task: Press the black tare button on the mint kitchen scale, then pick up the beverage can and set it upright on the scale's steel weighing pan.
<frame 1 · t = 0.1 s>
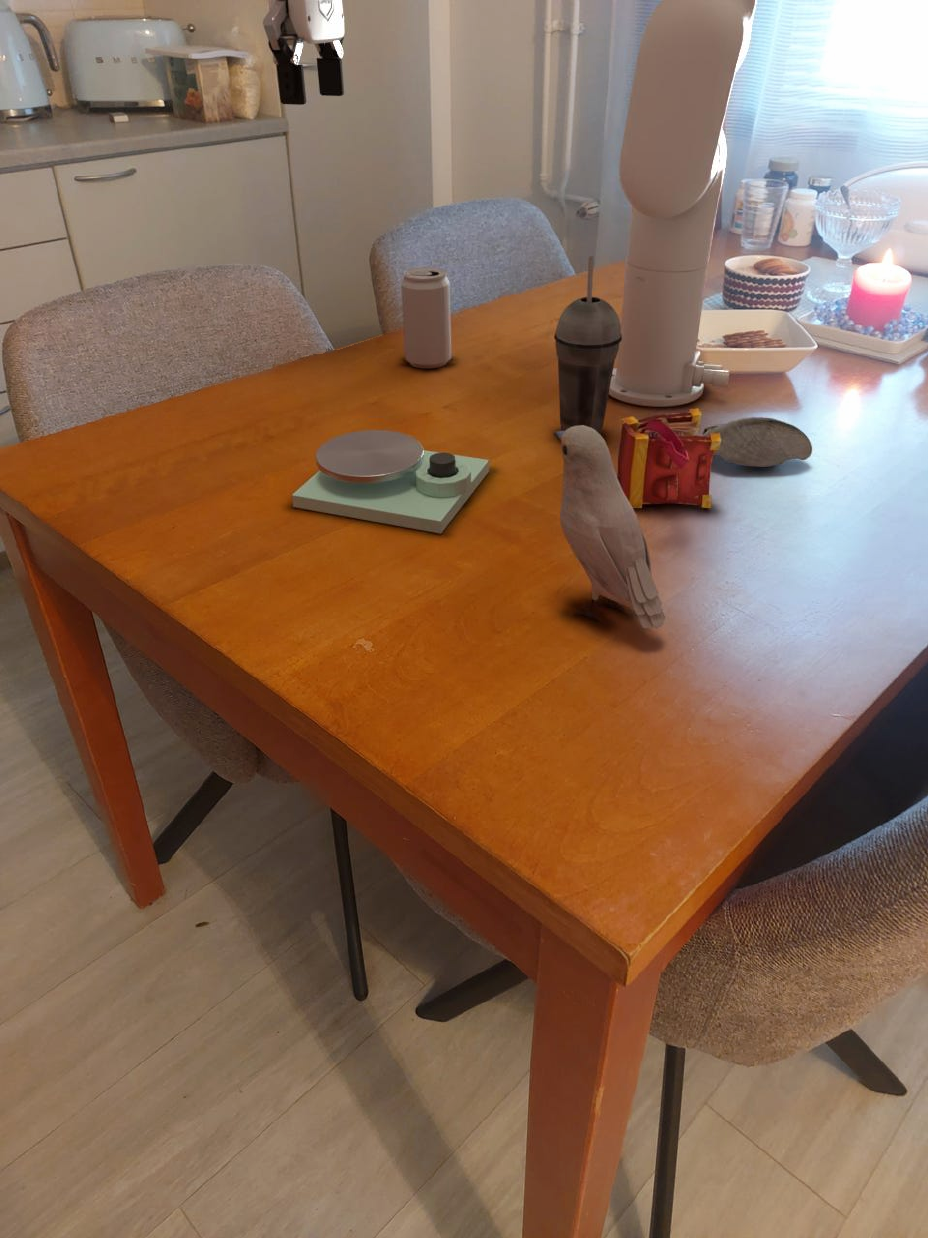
hand: (313, 99, 109), 31 cm above the table, tool pointing down, fingers open, 9 cm apart
beverage cup: (580, 437, 103), on the table
bird: (598, 609, 75), on the table
tare button: (442, 465, 89), point 4 cm above the table, slide at 0.1 cm
scale: (394, 488, 93), on the table
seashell: (750, 461, 97), on the table
beverage can: (428, 363, 123), on the table
book monster: (663, 510, 89), on the table
scale pan: (370, 458, 92), resting on scale
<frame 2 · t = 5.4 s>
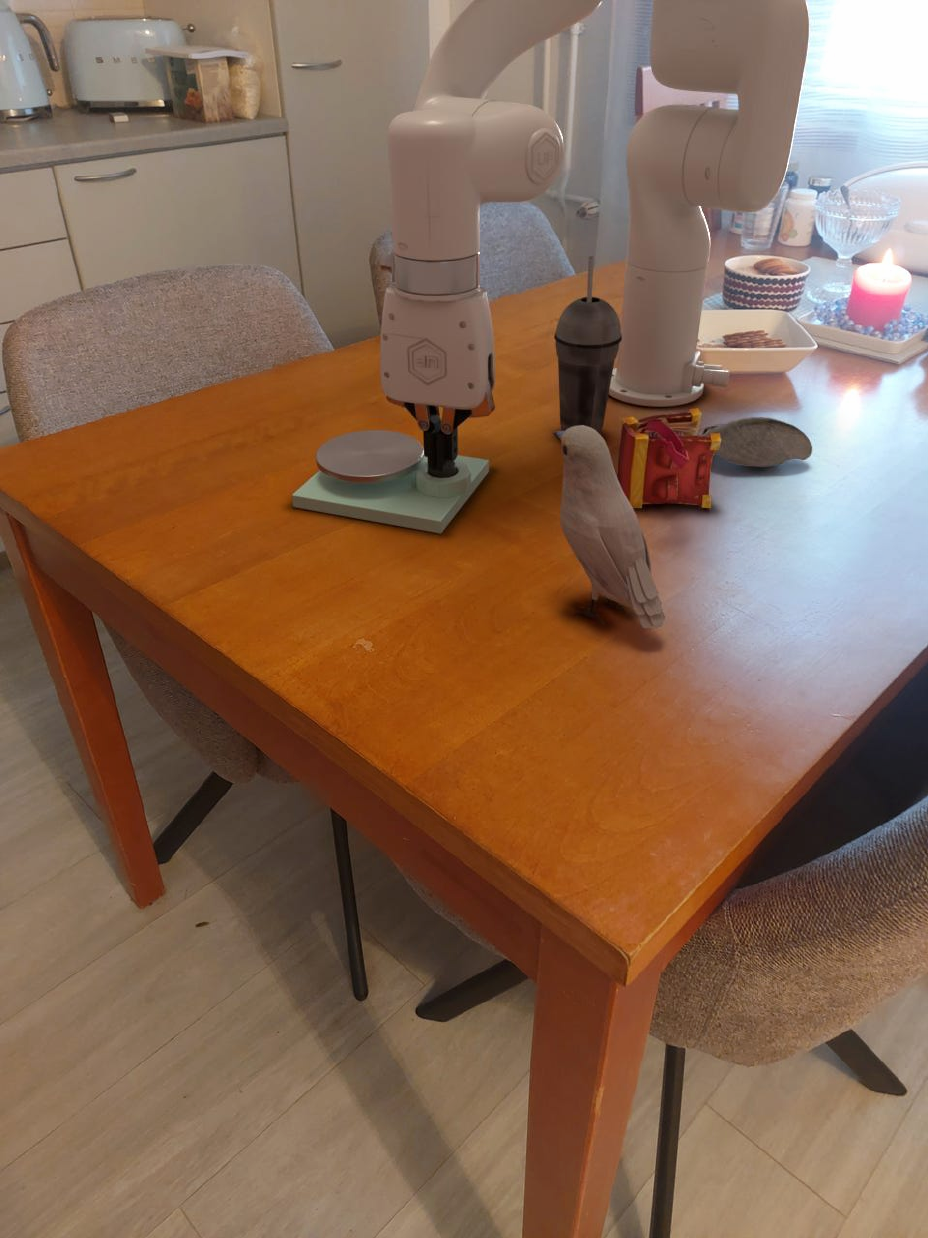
hand: (441, 464, 89), 4 cm above the table, tool pointing down, fingers closed
tare button: (442, 472, 89), point 3 cm above the table, slide at -0.6 cm, touching gripper
everything else where it was.
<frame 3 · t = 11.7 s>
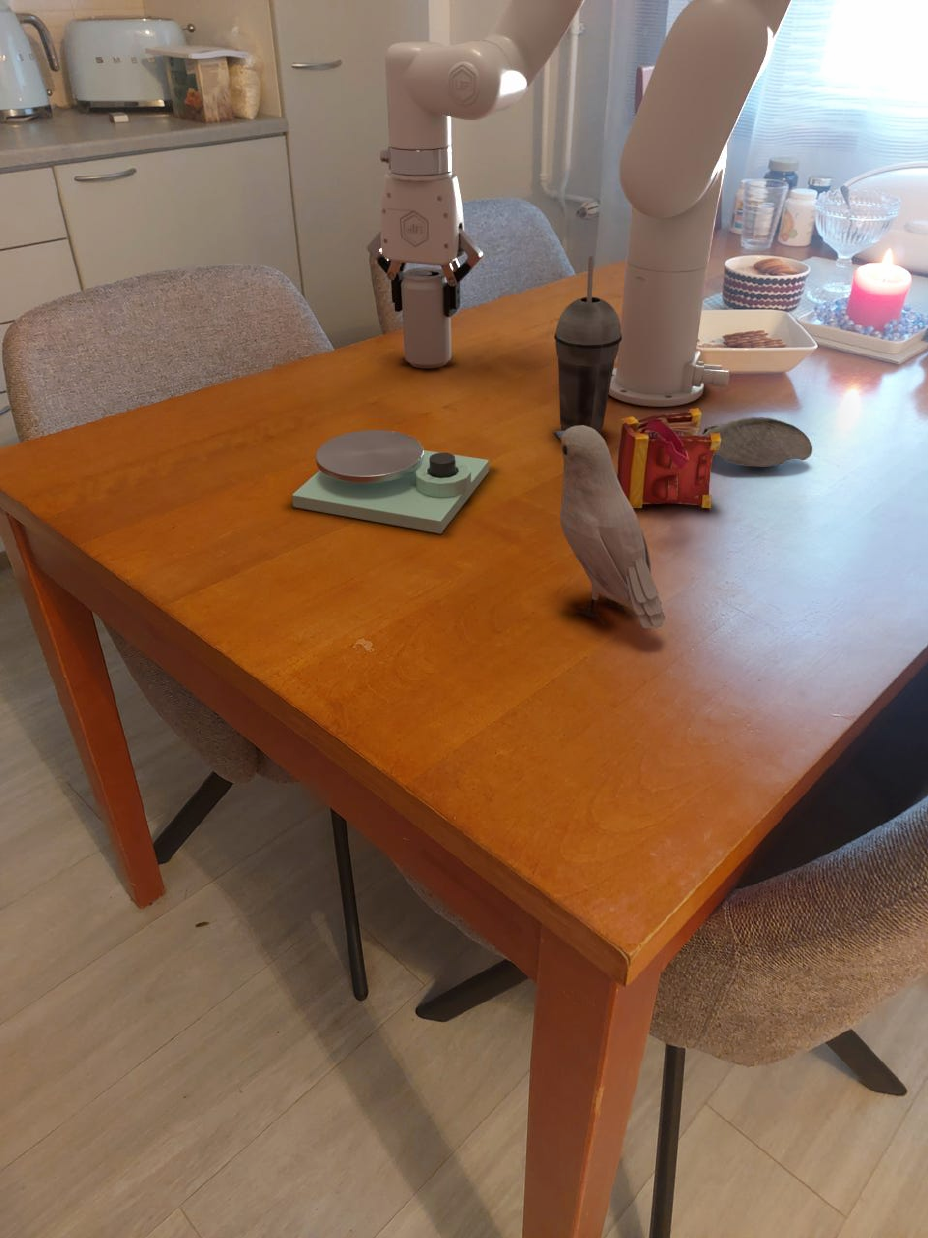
hand: (426, 310, 119), 7 cm above the table, tool pointing down, fingers closed on beverage can, 6 cm apart
tare button: (442, 465, 89), point 4 cm above the table, slide at 0.1 cm
beverage can: (428, 363, 123), on the table, touching gripper
everything else where it was.
when the fingers open (11 cm above the table, at t = 21.1 s): beverage can stays where it is, resting on scale pan.
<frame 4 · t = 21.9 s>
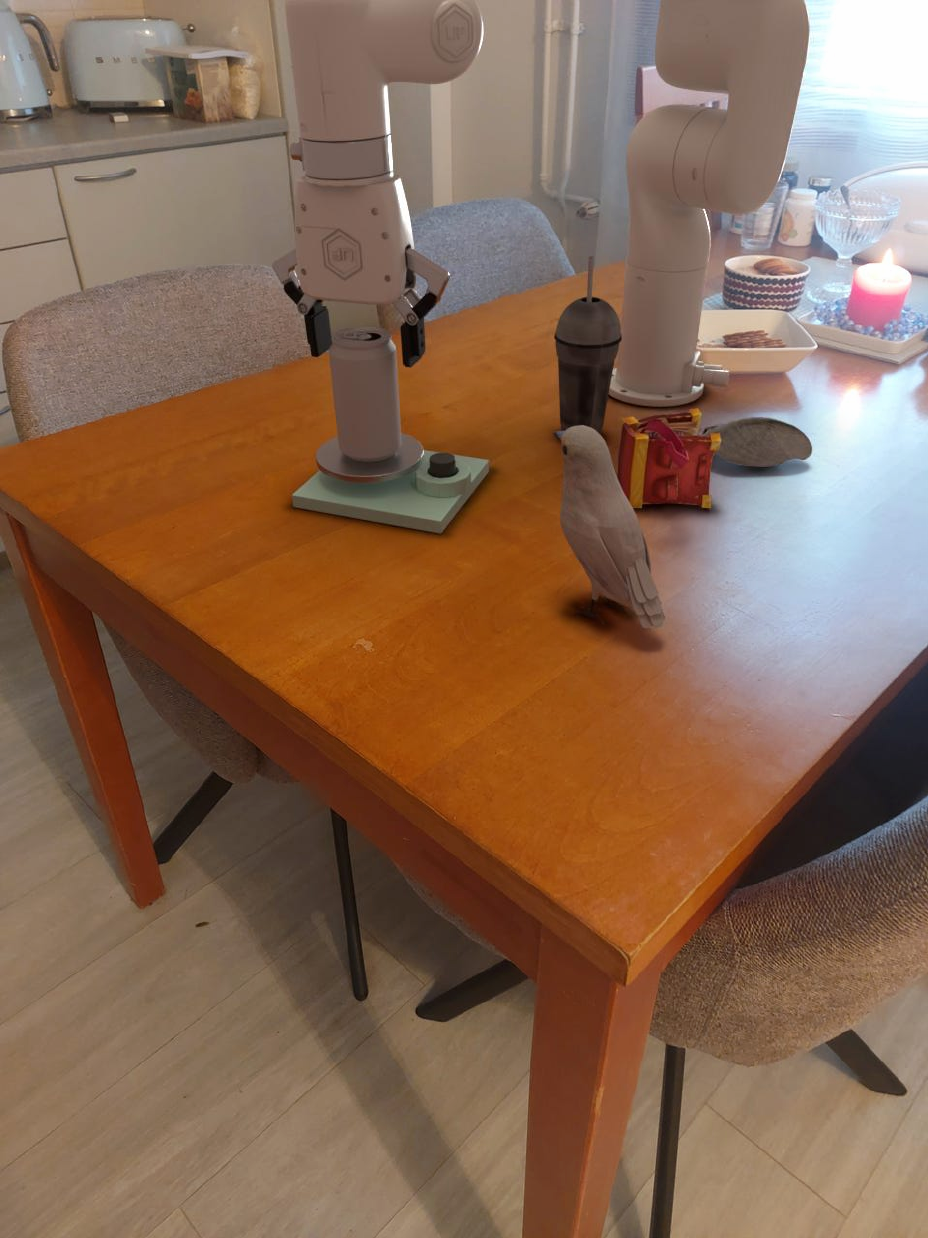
hand: (366, 357, 86), 14 cm above the table, tool pointing down, fingers open, 9 cm apart
beverage can: (370, 453, 91), point 4 cm above the table, touching scale pan
everything else where it was.
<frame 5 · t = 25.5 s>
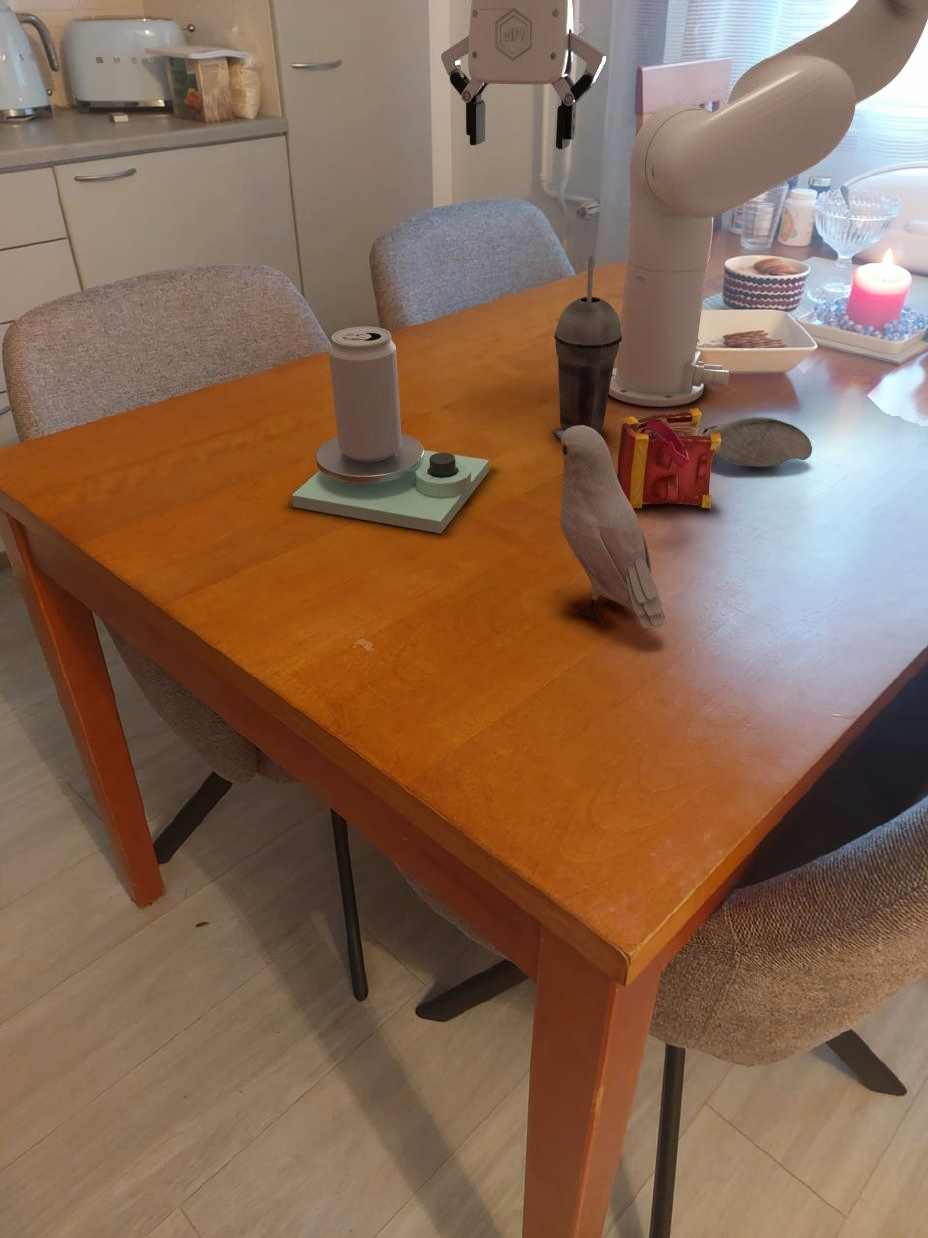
hand: (519, 145, 96), 28 cm above the table, tool pointing down, fingers open, 9 cm apart
nothing on the table moved.
at the end: tare button pushed in 0.9 cm at the most during the clip, back to where it started at the end; beverage can 0.1 cm off-centre on the scale pan, point 0.6 cm above the scale pan's base; beverage can tilted 0° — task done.
